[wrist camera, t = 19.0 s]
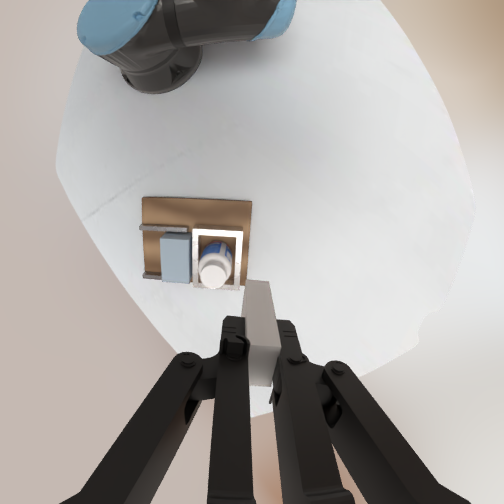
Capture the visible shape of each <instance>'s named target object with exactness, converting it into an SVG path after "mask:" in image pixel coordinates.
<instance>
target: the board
mask: <svg viewBox="0 0 504 504" xmlns="http://www.w3.org/2000/svg"><path fill="white" fill-rule="evenodd" d="M251 209H252V201H237V200H219V199H197V198H166V197H143V198H142V224H163V225H185V226H189V230H188V232H192V231H193V227H194V226H195V224H197V225H216V226H233V227H243V239H242V254H241V270H240V285H243V286H245V283H246V276H247V263H248V249H249V236H250V222H251ZM166 232H167V231H148V230H143V248H144V263H145V271H150V272H161V255H160V238H161V237H162V236H163V235H164V234H165V233H166ZM236 240H237V237H227V236H210V235H201V256H202V253H203V250H204V248H205V247H206V245H207V244H209V243H210V242H213V241H221V242H224V243H226V244H227V245H228V246H229V247H230V249H231V251H232V267H231V274H230V276H229V278H234V275H235V257H236ZM190 282H193V275H192V278H191V280H190Z"/></svg>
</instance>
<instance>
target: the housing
mask: <svg viewBox="0 0 504 504" xmlns="http://www.w3.org/2000/svg"><path fill="white" fill-rule="evenodd" d="M160 255H161V273H162V282H173V283H186V284H189V283H190V280H191V278H192V275H193V269H192V232H169V231H167V232H166V233H165V234H164V235H163V236H162V237H161V238H160Z"/></svg>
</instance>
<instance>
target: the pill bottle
mask: <svg viewBox="0 0 504 504" xmlns="http://www.w3.org/2000/svg"><path fill="white" fill-rule="evenodd" d="M231 267H232V251H231V249H230V247H229V246H228V245H227V244H226V243H224V242H221V241H213V242H210V243H209V244H207V245H206V247H205V248H204V250H203V253H202V256H201V259H200V261H199V265H198V272H199V275H200V279H201V282H202V283H203V284H204V285H205V286H206V287H208V288H211V289H216V288H219V287H221V286H222V285H223V284H224V283H225V281H226V280H227V279H228V278H229V276H230V274H231Z"/></svg>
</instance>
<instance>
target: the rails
mask: <svg viewBox="0 0 504 504" xmlns="http://www.w3.org/2000/svg"><path fill="white" fill-rule="evenodd" d="M139 230H148V231H169V232H188V230H189V226H185V225H163V224H141V225H140V226H139ZM143 278H146V279H157V280H162V273H161V272H150V271H145V272H144V273H143Z"/></svg>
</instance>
